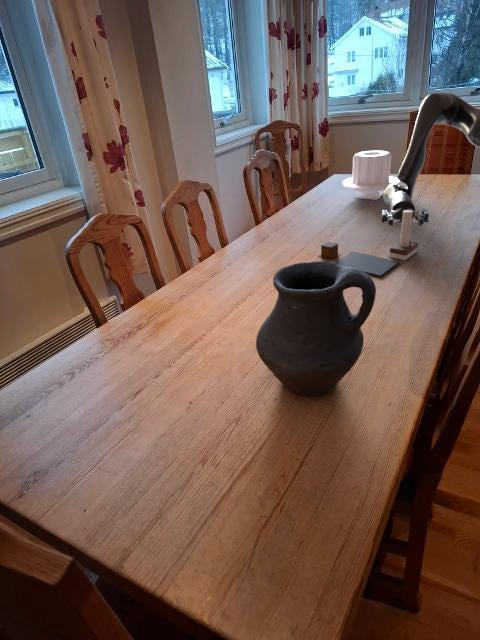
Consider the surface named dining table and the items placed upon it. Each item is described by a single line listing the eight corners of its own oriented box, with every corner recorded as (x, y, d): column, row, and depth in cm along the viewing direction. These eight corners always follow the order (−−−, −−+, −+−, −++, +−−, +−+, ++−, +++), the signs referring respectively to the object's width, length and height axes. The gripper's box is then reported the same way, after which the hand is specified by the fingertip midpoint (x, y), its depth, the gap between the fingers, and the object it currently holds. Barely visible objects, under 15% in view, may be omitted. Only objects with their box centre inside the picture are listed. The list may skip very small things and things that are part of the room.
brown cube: (338, 255, 143) (338, 243, 141) (331, 259, 140) (331, 247, 138) (327, 252, 145) (327, 241, 143) (321, 256, 143) (321, 245, 141)
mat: (399, 263, 133) (399, 261, 132) (380, 277, 126) (380, 275, 125) (353, 253, 143) (353, 251, 142) (333, 265, 136) (333, 264, 135)
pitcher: (277, 345, 100) (271, 243, 87) (374, 358, 92) (383, 248, 79) (246, 402, 83) (233, 287, 71) (360, 424, 76) (369, 299, 63)
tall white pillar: (401, 248, 143) (405, 206, 135) (417, 252, 139) (422, 208, 132) (389, 257, 138) (393, 213, 130) (405, 260, 134) (410, 216, 127)
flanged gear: (404, 191, 203) (408, 148, 193) (388, 205, 185) (392, 159, 176) (353, 188, 216) (355, 148, 206) (333, 201, 198) (334, 158, 189)
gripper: (381, 197, 148) (383, 211, 134) (425, 196, 144) (432, 210, 131) (379, 219, 152) (381, 234, 138) (422, 218, 148) (429, 234, 135)
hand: (406, 223), depth 134 cm, fingers open, 8 cm apart
